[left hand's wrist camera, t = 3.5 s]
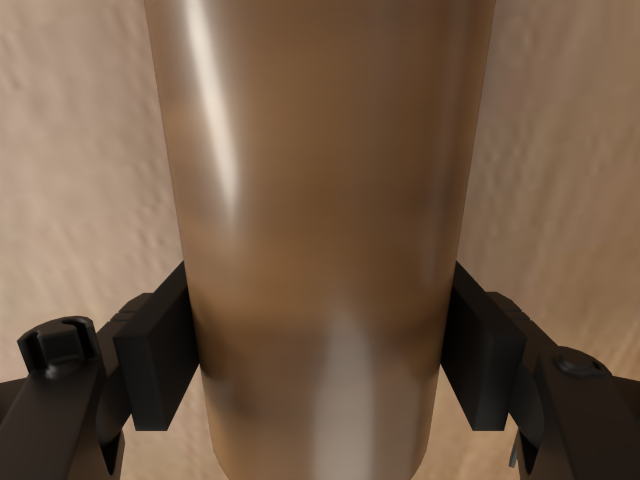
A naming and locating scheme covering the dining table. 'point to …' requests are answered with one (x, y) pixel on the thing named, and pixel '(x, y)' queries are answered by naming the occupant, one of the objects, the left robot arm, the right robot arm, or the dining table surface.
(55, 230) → the dining table surface
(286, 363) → the rod
